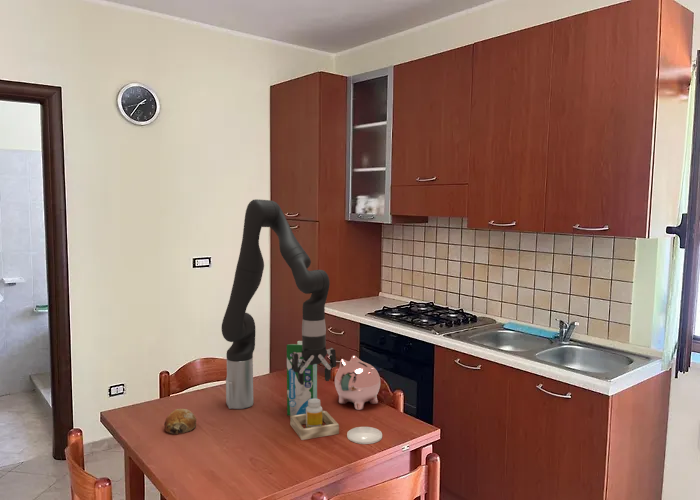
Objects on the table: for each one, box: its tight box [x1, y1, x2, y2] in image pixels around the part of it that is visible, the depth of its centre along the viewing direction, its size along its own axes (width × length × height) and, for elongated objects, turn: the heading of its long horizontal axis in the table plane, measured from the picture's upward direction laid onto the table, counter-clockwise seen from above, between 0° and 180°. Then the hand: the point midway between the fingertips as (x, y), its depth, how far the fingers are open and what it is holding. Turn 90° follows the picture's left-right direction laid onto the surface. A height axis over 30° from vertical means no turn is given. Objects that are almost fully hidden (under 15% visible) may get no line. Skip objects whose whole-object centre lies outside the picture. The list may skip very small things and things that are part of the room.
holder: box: [289, 410, 340, 441], centre depth 179 cm, size 12×12×3 cm
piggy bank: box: [334, 354, 381, 411], centre depth 203 cm, size 15×18×16 cm
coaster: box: [346, 426, 383, 445], centre depth 174 cm, size 11×11×1 cm
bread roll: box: [163, 408, 197, 435], centre depth 180 cm, size 10×10×8 cm
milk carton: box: [286, 340, 318, 416], centre depth 193 cm, size 9×9×25 cm
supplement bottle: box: [305, 398, 323, 428], centre depth 179 cm, size 5×5×10 cm
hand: (314, 382), depth 178 cm, fingers open, 8 cm apart
